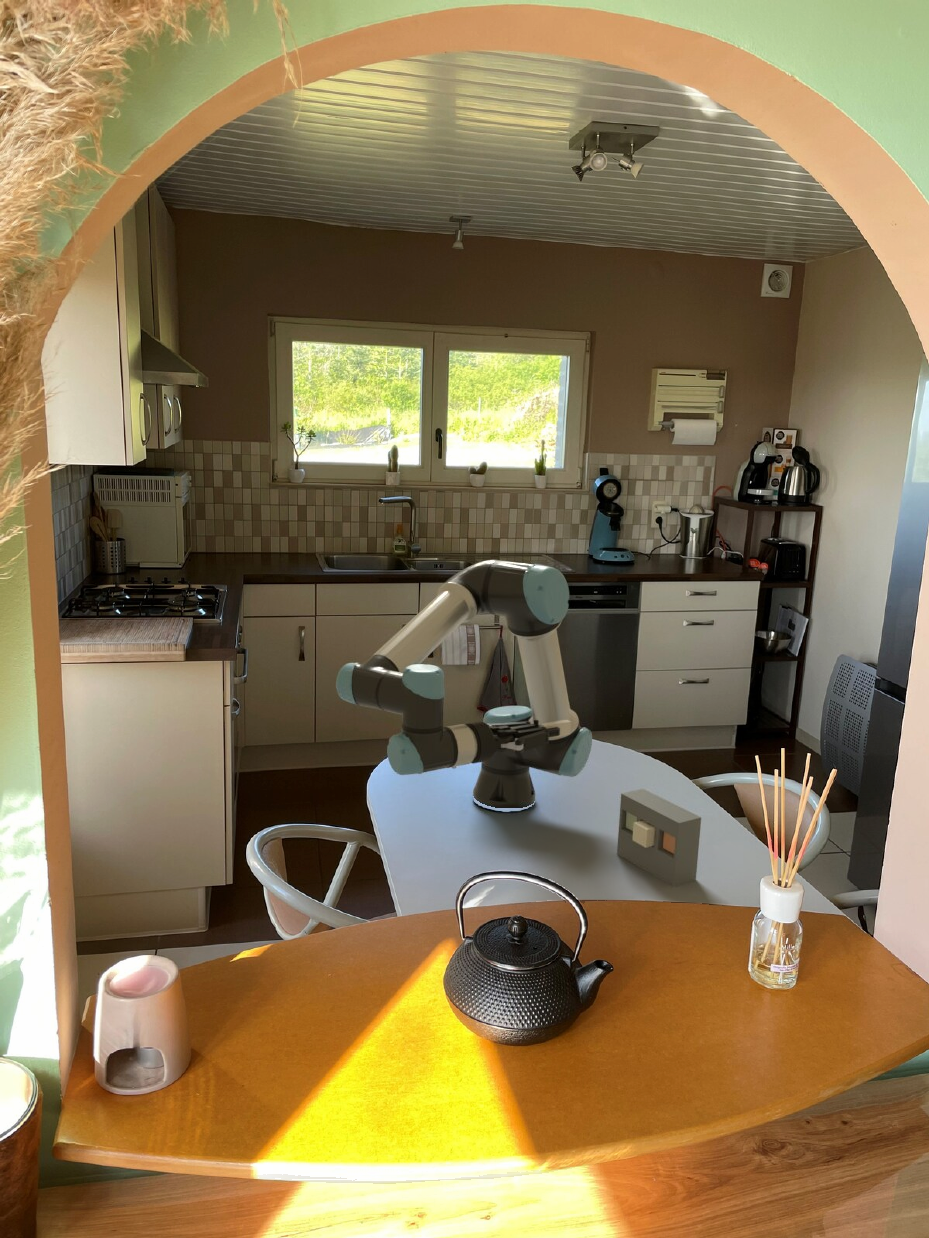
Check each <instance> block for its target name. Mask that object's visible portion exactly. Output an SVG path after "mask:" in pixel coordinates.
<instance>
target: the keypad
mask: <svg viewBox="0 0 929 1238" xmlns="http://www.w3.org/2000/svg"><path fill="white" fill-rule="evenodd" d="M627 812H628V813H630V814H632V815H634V816H636V817H637V822H638V821H642V820H643V821H645V822H647V823H649V824H651V825H652V826H654V827H656V830H655V843H654V846H650V847H647V848H645V847H644V846H642V845H640V844H638V843H637V842H635V841H633V840H632V838H633V831H632V830H630V829H628V828H626V814H627ZM701 824H702V817H701V816H699V815H697V814H695V813H693V812H691V811H689V810H687V809H685V808H683V807H681V806H679V805H678V804H675V803H673V802H671V801H669V800H666V799H664V798H663V797H660V796H659V795H656V794H655V793H653V792H650V791H648V790H646V789H645V788H639V789H636V790H635V789H634V790H630V791H627V792H622V793H620V806H619V821H618V833H617V835H618V836H617V848H616V855H618V856H620V857H622V858H624V859H625V860H626V861H628V862H630V863H632V864H633V865H635V866H637V867H639V868H640V869H642V870H644V871H646V872H648V873H650V875H653V876H655V877H656V878H658V879H660V880H661V881H663V882H664V883H667V884H668V885H670V886H671V887H676V886H680V885H684V884H687V883H689V882H692V881H696V880H697V872H698V871H697V870H698V859H699V858H698V857H699V850H700V849H699V847H700V837H701V836H700V835H701ZM664 832H666V833H667V834H669V835H671V836H673V837H675V850H674V854H673V853H671V852H669V851H668V850H666V849H664V848H663V837H664Z"/></svg>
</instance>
